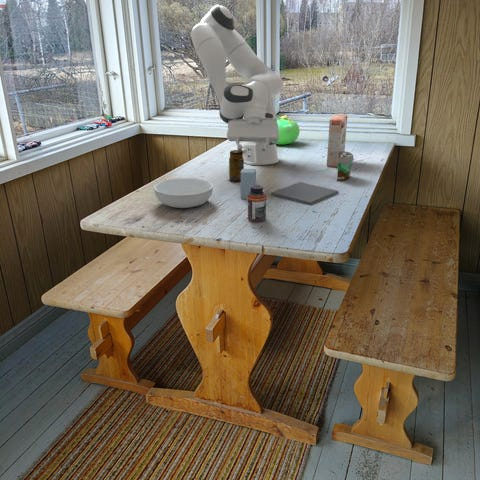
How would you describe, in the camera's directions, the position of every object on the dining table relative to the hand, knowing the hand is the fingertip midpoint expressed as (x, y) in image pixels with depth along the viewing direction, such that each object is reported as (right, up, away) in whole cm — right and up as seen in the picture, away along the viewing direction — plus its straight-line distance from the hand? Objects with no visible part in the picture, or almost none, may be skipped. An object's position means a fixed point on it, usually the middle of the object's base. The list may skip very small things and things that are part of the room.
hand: (251, 150), depth 193 cm
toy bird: (+18, +16, +77) cm, 80 cm away
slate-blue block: (-1, -18, -5) cm, 19 cm away
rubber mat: (+20, -17, -3) cm, 26 cm away
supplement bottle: (+1, -28, -27) cm, 39 cm away
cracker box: (+39, 0, +38) cm, 55 cm away
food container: (+39, -9, +16) cm, 43 cm away
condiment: (-6, -10, +15) cm, 19 cm away
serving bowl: (-24, -22, -11) cm, 34 cm away
